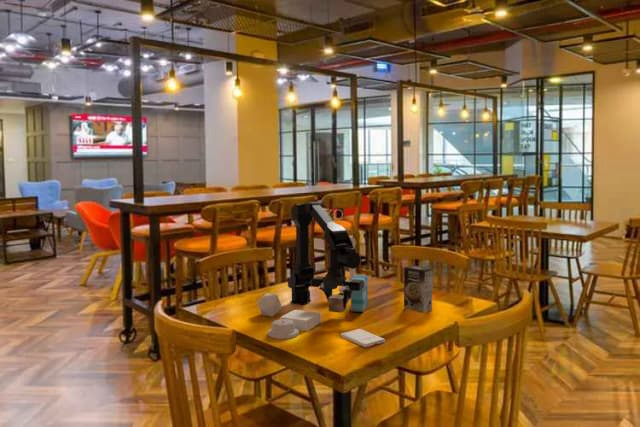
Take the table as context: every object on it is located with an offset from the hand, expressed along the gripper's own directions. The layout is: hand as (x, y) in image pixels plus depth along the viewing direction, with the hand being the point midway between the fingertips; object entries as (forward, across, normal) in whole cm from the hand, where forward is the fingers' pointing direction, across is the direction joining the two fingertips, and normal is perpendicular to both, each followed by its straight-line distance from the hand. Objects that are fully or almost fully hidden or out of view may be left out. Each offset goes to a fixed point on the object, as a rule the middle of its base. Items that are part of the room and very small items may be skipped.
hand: (337, 306), depth 197 cm
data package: (+4, +3, +15) cm, 16 cm away
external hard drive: (+5, +16, -18) cm, 25 cm away
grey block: (+5, -9, -12) cm, 16 cm away
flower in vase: (+4, -8, +35) cm, 36 cm away
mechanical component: (+5, -10, -23) cm, 26 cm away
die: (+4, -25, -5) cm, 26 cm away
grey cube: (+1, 0, 0) cm, 1 cm away
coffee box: (+4, +24, +22) cm, 33 cm away
